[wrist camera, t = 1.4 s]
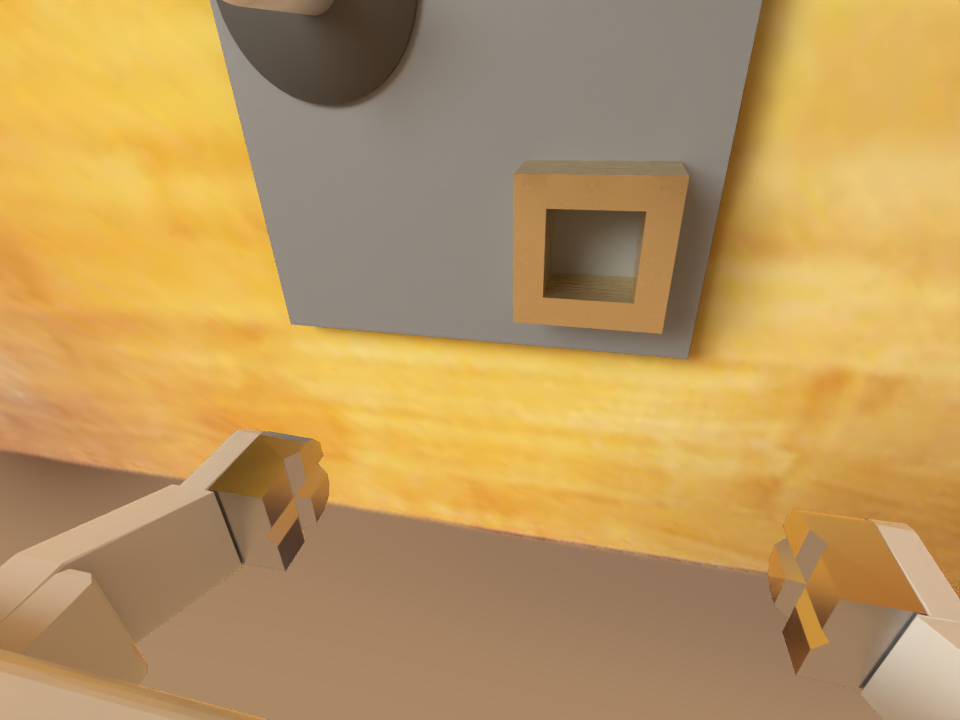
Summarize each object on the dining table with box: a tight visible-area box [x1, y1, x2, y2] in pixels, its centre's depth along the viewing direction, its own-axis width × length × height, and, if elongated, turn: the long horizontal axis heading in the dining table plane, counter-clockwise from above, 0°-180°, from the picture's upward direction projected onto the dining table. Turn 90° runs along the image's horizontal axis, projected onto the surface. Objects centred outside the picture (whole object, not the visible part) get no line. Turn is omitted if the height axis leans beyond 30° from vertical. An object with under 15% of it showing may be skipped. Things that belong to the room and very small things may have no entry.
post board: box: [210, 0, 762, 359], centre depth 20 cm, size 22×22×8 cm
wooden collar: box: [513, 160, 689, 334], centre depth 22 cm, size 6×6×3 cm
